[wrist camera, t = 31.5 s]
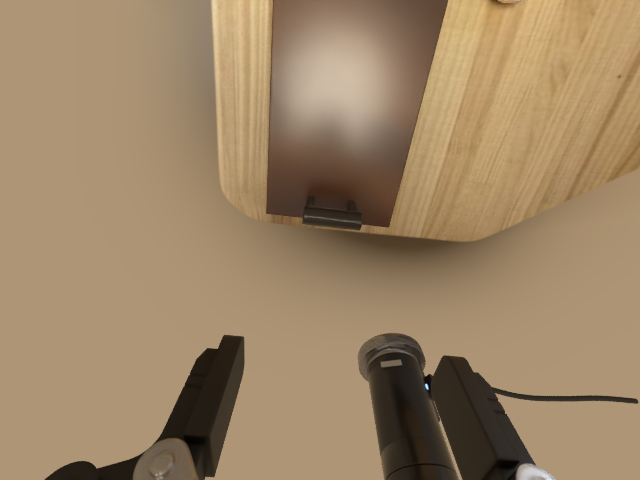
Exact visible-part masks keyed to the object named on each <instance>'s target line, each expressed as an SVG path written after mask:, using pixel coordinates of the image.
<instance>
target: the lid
mask: <svg viewBox="0 0 640 480" xmlns="http://www.w3.org/2000/svg"><path fill="white" fill-rule="evenodd" d="M447 3H448V0H273V18H272V50H271V82H270V113H269V145H268V177H267V208H266V213H267V214H275V215H284V216H292V217H301V218H303V221H302V224H306V225H315V226H324V227H333V228H342V229H351V230H360V229H361V226H362V224H363V225H372V226H381V227H389V225H390V221H391V218H392V214H393V210H394V206H395V202H396V198H397V195H398V191H399V187H400V183H401V179H402V175H403V172H404V168H405V164H406V160H407V156H408V153H409V149H410V145H411V141H412V137H413V133H414V130H415V126H416V122H417V118H418V114H419V110H420V107H421V103H422V99H423V95H424V91H425V87H426V84H427V80H428V76H429V72H430V68H431V64H432V61H433V57H434V53H435V49H436V45H437V41H438V38H439V34H440V30H441V26H442V22H443V19H444V15H445V11H446V7H447Z"/></svg>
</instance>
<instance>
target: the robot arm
mask: <svg viewBox="0 0 640 480" xmlns="http://www.w3.org/2000/svg"><path fill="white" fill-rule="evenodd" d="M243 370H244V337H242V336H231V335H224V336H223V338H222V340H221V343H220V345H219V348H218V349H211V348H207V349H206V350H205V351H204V352H203V353H202V354H201V355H200V356H199V357H198V358H197V360H196V362H195V364H194V366H193V368H192V370H191V372H190V375H189V377H188V379H187V381H186V383H185V386H184V387H183V389H182V391H181V394H180V396H179V398H178V400H177V402H176V404H175V406H174V408H173V411H172V413H171V415H170V417H169V419H168V422H167V424H166V426H165V428H164V430H163V432H162V434H161V435H160V437H159V438H158V440H157V441H156V442H155V443H154V444H153V445H152V446H151V447H150V448H149V449H147V450H146V451H145V452H143V453H142V454H140V455H139V456H137V457H134V458H132V459H129V460H126V461H123V462H119V463H116V464H112V465H109V466H105V467H102V468H98V469H96V467H95V466H94V465H93V464H92V463H90V462H86V461H78V462H74V463H70V464H68V465H66V466H63V467H62V468H60V469H58V470H57V471H55V472H54V473H53V474H51V475H50V476H48V477H47V478H46V479H45V480H204V479H205V477H214V476H215V473H216V469H217V465H218V462H219V458H220V455H221V451H222V448H223V444H224V441H225V437H226V433H227V430H228V426H229V423H230V419H231V415H232V412H233V408H234V405H235V401H236V398H237V394H238V390H239V387H240V383H241V380H242V375H243ZM366 370H367V375H368V380H369V386H370V393H371V399H372V405H373V412H374V417H375V424H376V430H377V436H378V443H379V449H380V455H381V461H382V468H383V473H384V480H459V478H458V476H457V473H456V470H455V467H454V464H453V462H452V459H451V456H450V453H449V450H448V447H447V445H446V442H445V439H444V436H443V433H442V430H441V427H440V425H439V421H440V418H441V421H442V424H443V427H444V429H445V432H446V435H447V438H448V440H449V443H450V446H451V449H452V452H453V454H454V457H455V460H456V463H457V466H458V468H459V471H460V474H461V477H462V479H463V480H556V479H555V478H554V477H553V476H552V475H550V474H549V473H548V472H546V471H545V470H544V469H542V468H540V467H538V466H536V464H535V463H534V461H533V460H532V458H531V457H530V455H529V453H528V451H527V449H526V448H525V446H524V444H523V442H522V441H521V439H520V437H519V435H518V434H517V432H516V430H515V428H514V427H513V425H512V423H511V421H510V419H509V418H508V416H507V414H505V411H504V409H503V407H502V405H501V404H500V402H498V398H497V397H496V395H495V393H497V394H501V395H504V396H509V397H513V398H518V399H524V400H534V401H614V402H615V401H616V402H625V403H636V404H637V403H638V400H637V399H633V398H623V397H612V396H532V395H523V394H517V393H512V392H507V391H503V390H500V389H497V388H493V387H491V386H490V385H489V384H488V383H487V382H486V381H485V379H484V378H483V377H482V376H481V375H480V374H479V373H474V372H473V371H472V369H471V367H470V365H469V363H468V361H467V360H466V359H465V358H463V357H454V356H443V357H442V358H441V361H440V363H439V365H438V367H437V369H436V371H435V373H434V376H432V375H430V374H429V375H427V376H426V377H425V375H424V372H423V370H422V367H421V366H419V362H418V359H417V357H416V356H415V355H414V354H413V353H411V352H410V351H407V350H404V349H399V348H391V349H386V350H382V351H380V352H378V353H376V354H374V355H373V356H372V357H371V358H370V359H369V360H368V362H367V365H366ZM434 402H435V403H434ZM435 404H436V406H435ZM436 407H437V409H436ZM437 410H438V412H437ZM438 413H439V414H438ZM439 416H440V417H439Z"/></svg>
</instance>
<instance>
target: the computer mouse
mask: <svg viewBox="0 0 640 480" xmlns="http://www.w3.org/2000/svg"><path fill="white" fill-rule="evenodd" d="M497 1H499V2H501V3H514V4H518V3H523V2H525V1H527V0H497Z"/></svg>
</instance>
